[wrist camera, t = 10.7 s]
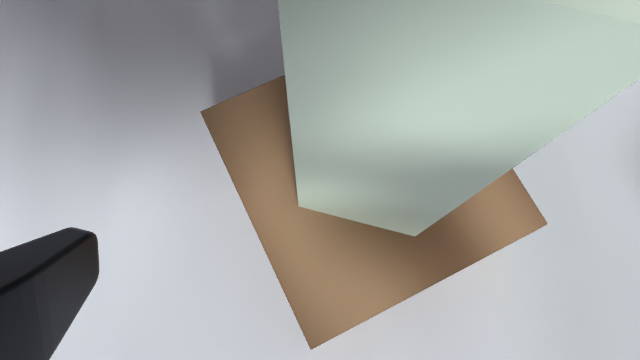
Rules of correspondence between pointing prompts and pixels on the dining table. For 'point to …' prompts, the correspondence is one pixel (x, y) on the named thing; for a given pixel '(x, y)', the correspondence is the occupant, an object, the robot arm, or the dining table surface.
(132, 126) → the dining table surface
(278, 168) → the walnut base block
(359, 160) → the sage block
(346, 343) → the dining table surface
